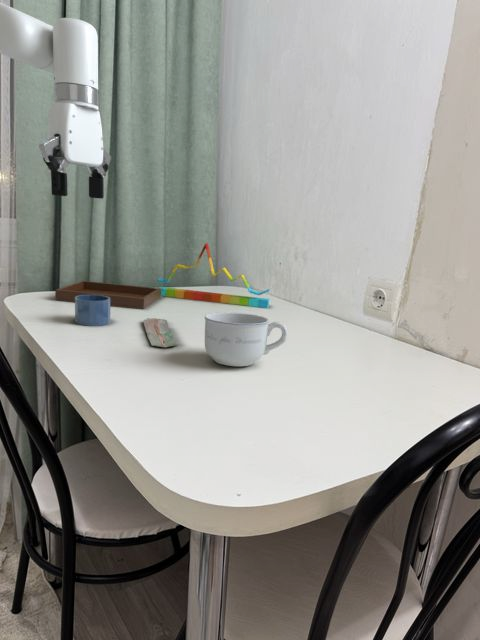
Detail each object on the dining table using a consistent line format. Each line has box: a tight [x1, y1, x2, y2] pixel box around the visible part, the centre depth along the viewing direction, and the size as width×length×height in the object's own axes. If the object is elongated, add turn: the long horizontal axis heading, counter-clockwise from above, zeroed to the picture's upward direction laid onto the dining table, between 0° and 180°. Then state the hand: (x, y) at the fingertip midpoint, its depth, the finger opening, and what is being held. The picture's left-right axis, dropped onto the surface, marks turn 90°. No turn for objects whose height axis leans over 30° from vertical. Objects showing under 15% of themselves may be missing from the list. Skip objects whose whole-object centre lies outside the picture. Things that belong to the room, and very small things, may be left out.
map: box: [143, 317, 179, 348], centre depth 99 cm, size 5×20×1 cm, turn 17°
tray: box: [54, 280, 162, 310], centre depth 127 cm, size 21×15×2 cm
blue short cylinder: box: [74, 295, 111, 327], centre depth 103 cm, size 7×7×5 cm
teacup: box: [204, 311, 289, 367], centre depth 85 cm, size 14×11×8 cm
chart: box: [156, 242, 271, 309], centre depth 135 cm, size 30×3×15 cm, turn 82°
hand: (78, 196), depth 97 cm, fingers open, 9 cm apart
